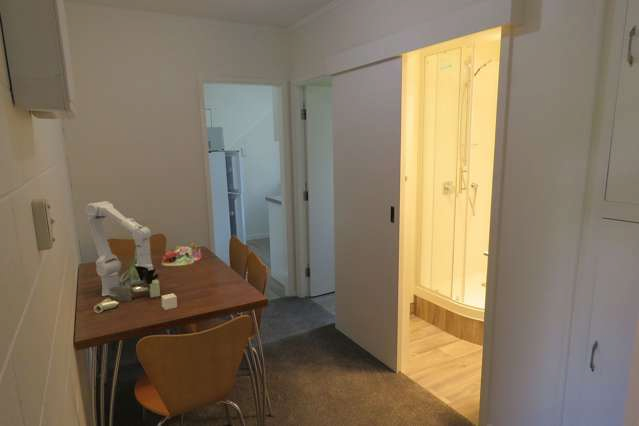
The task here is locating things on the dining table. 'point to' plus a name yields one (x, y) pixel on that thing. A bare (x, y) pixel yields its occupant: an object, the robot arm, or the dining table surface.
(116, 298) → the grey boxy piece
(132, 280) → the tree stump
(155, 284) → the socket block
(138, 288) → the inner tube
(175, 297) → the cream white cube
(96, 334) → the dining table surface
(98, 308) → the pipe fitting
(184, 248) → the toy food platter
